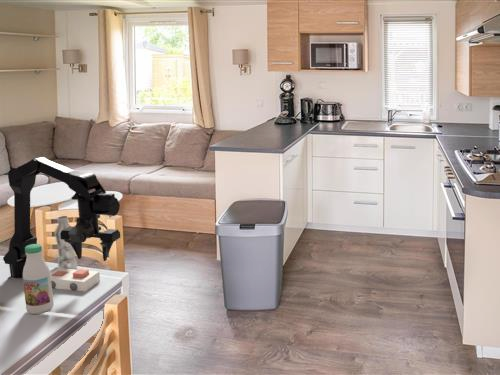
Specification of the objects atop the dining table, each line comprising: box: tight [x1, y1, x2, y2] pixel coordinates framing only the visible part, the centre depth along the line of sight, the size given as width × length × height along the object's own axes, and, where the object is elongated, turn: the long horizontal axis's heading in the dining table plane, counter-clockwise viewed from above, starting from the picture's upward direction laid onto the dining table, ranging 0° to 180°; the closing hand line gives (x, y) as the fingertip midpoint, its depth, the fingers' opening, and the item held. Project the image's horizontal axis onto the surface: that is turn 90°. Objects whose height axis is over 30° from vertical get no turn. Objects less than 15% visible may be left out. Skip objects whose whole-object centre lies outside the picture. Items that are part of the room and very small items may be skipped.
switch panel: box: [49, 266, 101, 292], centre depth 181 cm, size 17×9×4 cm, turn 74°
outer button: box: [73, 268, 90, 278], centre depth 180 cm, size 4×4×2 cm
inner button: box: [52, 271, 68, 276], centre depth 182 cm, size 4×4×2 cm
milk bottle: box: [22, 243, 55, 315], centre depth 162 cm, size 8×8×20 cm
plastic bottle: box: [54, 215, 78, 270], centre depth 193 cm, size 6×7×20 cm
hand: (92, 259), depth 177 cm, fingers open, 9 cm apart
